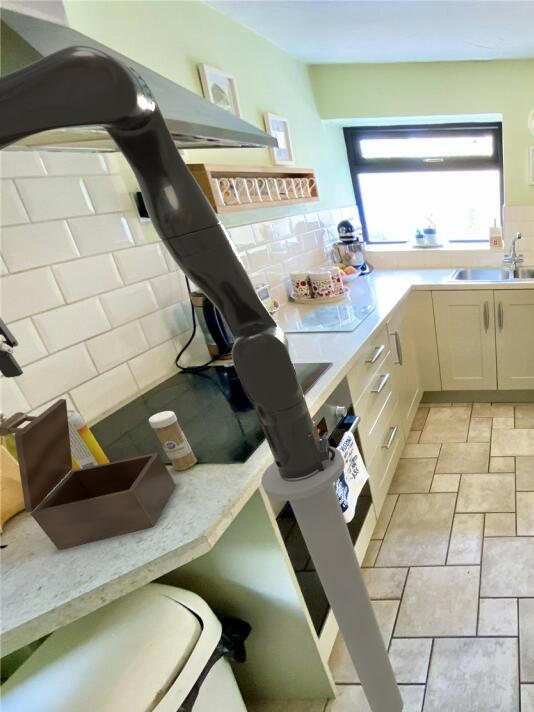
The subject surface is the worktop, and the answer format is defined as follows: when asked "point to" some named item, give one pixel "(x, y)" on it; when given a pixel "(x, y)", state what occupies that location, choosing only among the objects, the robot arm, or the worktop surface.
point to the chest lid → (41, 451)
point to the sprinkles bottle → (173, 440)
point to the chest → (105, 501)
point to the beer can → (83, 444)
